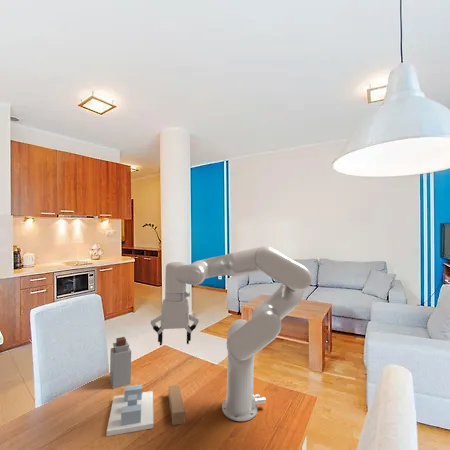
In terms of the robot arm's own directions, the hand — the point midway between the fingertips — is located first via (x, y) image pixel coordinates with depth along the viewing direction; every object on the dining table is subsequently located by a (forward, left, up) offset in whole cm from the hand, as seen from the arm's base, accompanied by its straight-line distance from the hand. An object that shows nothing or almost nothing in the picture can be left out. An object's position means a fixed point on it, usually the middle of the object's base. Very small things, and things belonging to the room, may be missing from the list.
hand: (174, 343), depth 100 cm
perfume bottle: (+20, -20, -23) cm, 36 cm away
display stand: (+14, +1, -22) cm, 27 cm away
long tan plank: (-1, +2, -23) cm, 23 cm away
